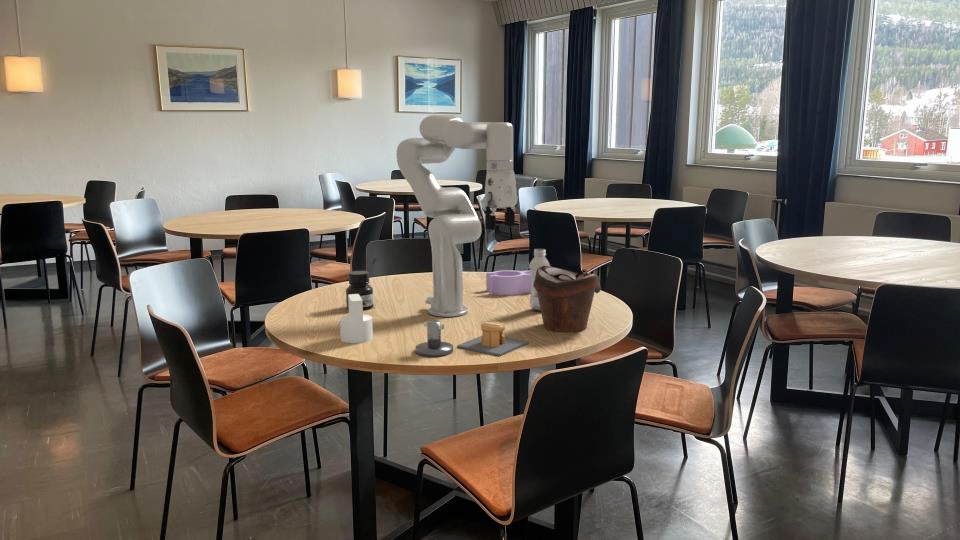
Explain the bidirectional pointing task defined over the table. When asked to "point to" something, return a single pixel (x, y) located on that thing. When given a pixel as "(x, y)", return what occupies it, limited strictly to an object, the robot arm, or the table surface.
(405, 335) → the table surface
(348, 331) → the cylinder with rectangular tab
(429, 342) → the grey post on disc
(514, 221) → the robot arm
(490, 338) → the orange ellipsoid with prongs
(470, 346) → the mat
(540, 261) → the plastic bottle
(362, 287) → the ink bottle
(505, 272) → the clip
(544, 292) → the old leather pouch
